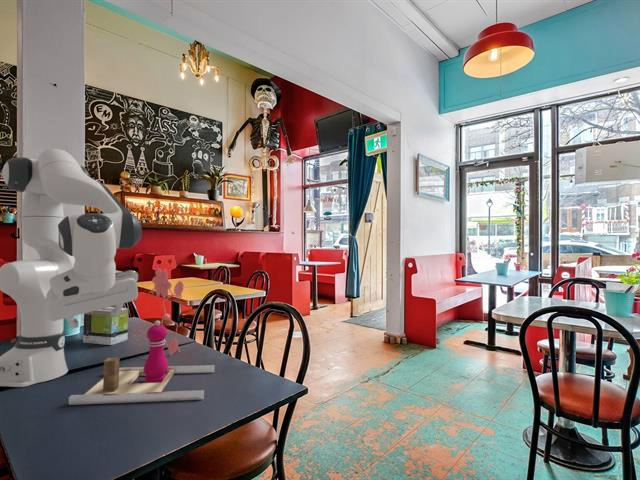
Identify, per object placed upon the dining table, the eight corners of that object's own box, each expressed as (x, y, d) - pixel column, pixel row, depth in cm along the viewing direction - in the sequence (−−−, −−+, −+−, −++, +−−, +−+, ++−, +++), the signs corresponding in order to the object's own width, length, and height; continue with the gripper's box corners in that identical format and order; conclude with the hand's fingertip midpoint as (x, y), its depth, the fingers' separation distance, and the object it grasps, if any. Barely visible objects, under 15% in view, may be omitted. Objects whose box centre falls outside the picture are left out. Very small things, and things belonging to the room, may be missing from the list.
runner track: (68, 404, 95) (68, 396, 95) (105, 374, 117) (105, 367, 117) (203, 399, 101) (203, 391, 101) (214, 371, 122) (214, 365, 122)
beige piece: (81, 401, 97) (82, 364, 97) (111, 375, 116) (112, 344, 116) (156, 398, 100) (157, 362, 100) (173, 373, 119) (174, 343, 119)
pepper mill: (158, 387, 108) (160, 324, 108) (138, 384, 109) (140, 322, 109) (172, 378, 115) (174, 319, 115) (153, 376, 116) (155, 317, 116)
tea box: (128, 339, 156) (129, 307, 156) (110, 346, 146) (111, 311, 147) (101, 336, 160) (102, 305, 160) (81, 342, 150) (83, 309, 150)
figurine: (160, 343, 152) (160, 265, 152) (193, 356, 137) (194, 269, 136) (123, 352, 140) (124, 267, 139) (156, 368, 125) (157, 272, 124)
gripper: (133, 263, 95) (131, 303, 100) (41, 280, 80) (44, 326, 85) (143, 274, 92) (140, 315, 97) (48, 294, 76) (52, 341, 82)
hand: (95, 320), depth 91 cm, fingers open, 8 cm apart
